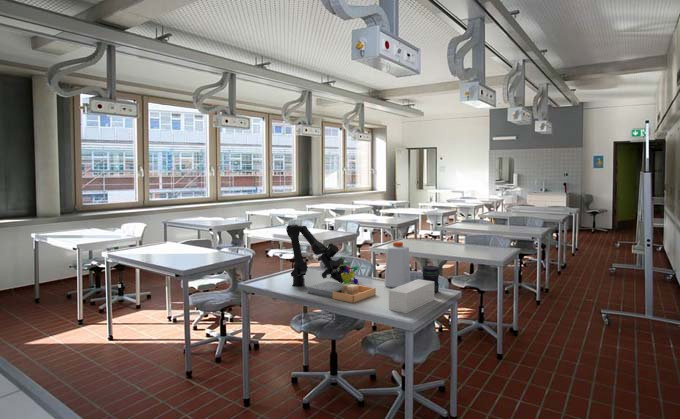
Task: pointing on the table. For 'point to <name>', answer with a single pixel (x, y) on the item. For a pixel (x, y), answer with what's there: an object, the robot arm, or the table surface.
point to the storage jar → (431, 276)
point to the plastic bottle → (397, 265)
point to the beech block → (349, 289)
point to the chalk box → (346, 265)
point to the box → (362, 294)
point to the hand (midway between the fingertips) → (342, 282)
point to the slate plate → (325, 288)
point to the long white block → (411, 295)
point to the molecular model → (351, 275)
